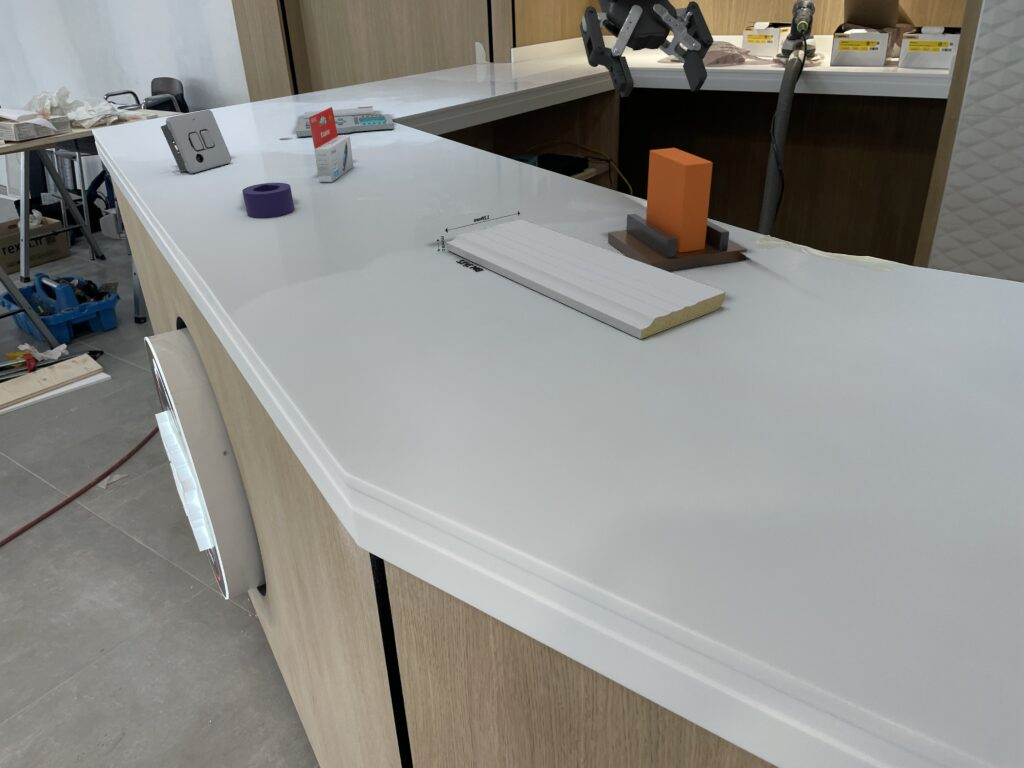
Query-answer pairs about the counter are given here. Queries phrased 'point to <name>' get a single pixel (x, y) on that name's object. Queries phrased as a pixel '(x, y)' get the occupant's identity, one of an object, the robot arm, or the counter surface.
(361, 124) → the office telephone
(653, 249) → the brown slotted base
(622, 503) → the counter surface
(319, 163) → the ink cartridge box
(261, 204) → the purple donut ring
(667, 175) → the orange rectangular block
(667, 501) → the counter surface
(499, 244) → the baseboard molding
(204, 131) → the electrical switch
